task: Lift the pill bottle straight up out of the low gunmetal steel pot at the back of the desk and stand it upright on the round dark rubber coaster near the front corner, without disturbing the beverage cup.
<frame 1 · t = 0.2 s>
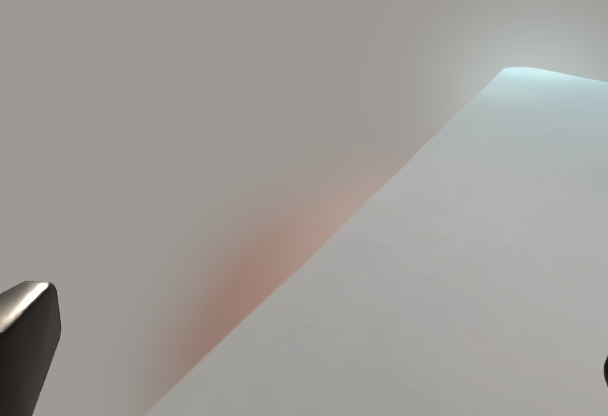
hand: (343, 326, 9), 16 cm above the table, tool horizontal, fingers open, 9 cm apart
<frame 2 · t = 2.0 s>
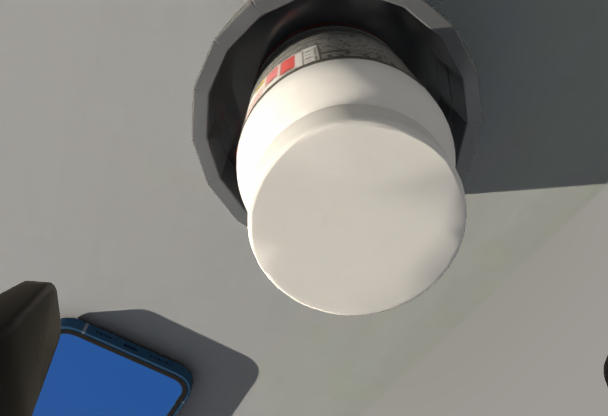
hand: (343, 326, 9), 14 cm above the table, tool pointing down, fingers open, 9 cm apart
pill bottle: (330, 98, 21), resting on pot
pot: (329, 97, 21), on the table
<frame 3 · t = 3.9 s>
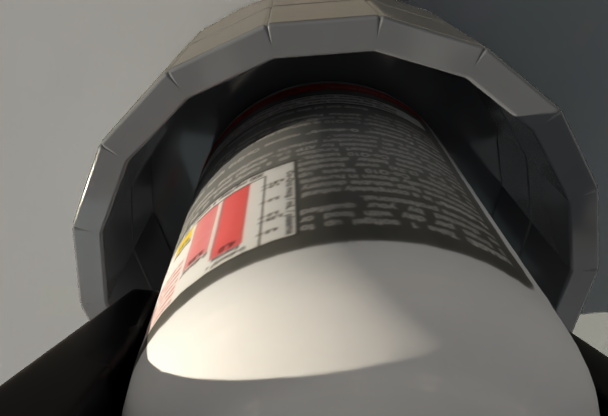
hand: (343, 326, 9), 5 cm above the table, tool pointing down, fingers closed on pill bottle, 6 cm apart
pill bottle: (325, 193, 13), resting on pot, touching gripper
pot: (325, 189, 13), on the table
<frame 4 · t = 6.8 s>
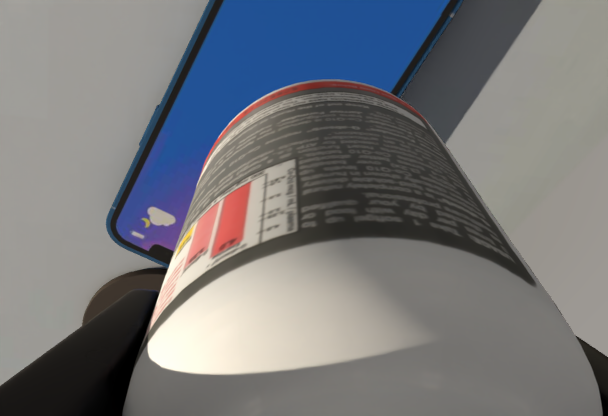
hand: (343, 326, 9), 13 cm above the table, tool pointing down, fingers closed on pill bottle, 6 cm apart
smartphone: (271, 110, 20), on the table
coaster: (163, 332, 25), on the table
pill bottle: (326, 191, 13), point 8 cm above the table, touching gripper
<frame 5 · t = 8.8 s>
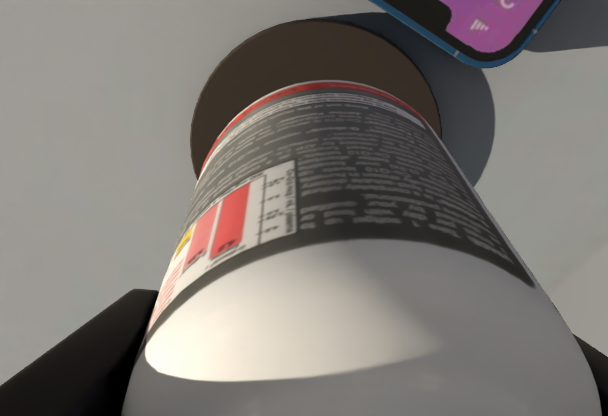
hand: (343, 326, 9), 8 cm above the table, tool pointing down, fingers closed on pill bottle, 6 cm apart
coaster: (315, 146, 16), on the table
pill bottle: (325, 192, 13), point 3 cm above the table, touching gripper
when the fingers open (5 cm above the table, at t = 10.1 s): pill bottle stays where it is, resting on coaster.
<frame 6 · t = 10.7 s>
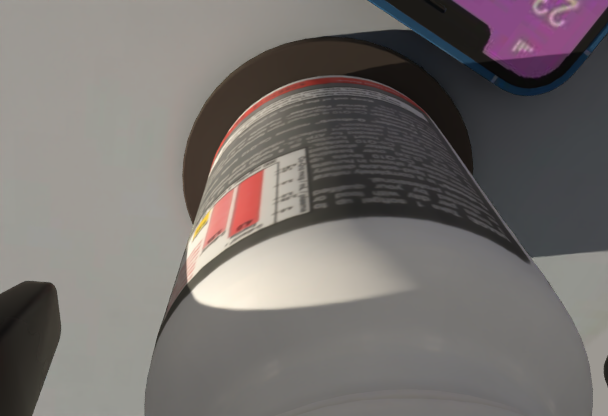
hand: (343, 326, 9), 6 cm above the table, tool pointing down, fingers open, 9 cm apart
coaster: (327, 181, 14), on the table
pill bottle: (331, 184, 13), resting on coaster
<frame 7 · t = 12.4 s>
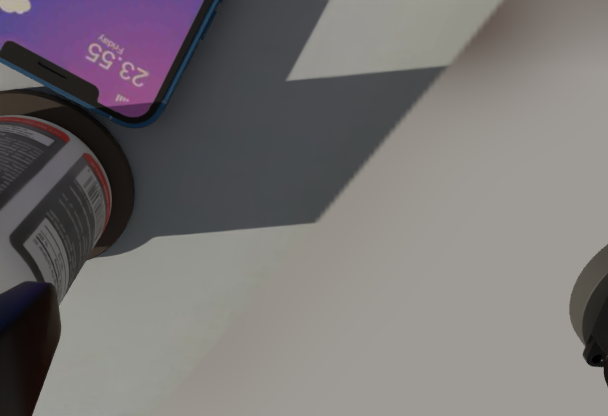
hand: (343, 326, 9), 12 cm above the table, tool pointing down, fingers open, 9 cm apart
coaster: (39, 182, 21), on the table
pill bottle: (39, 183, 20), resting on coaster
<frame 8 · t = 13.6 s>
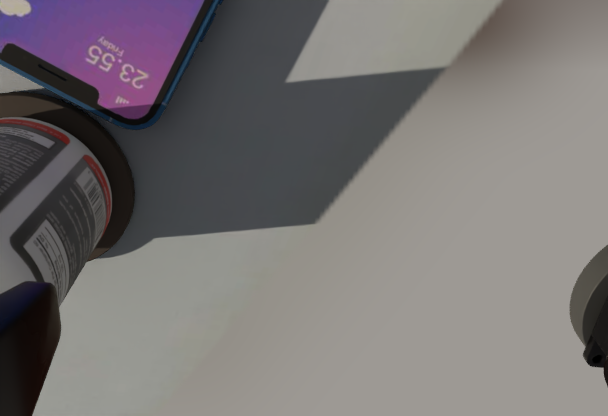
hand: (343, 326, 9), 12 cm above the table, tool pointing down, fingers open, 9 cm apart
coaster: (40, 183, 21), on the table
pill bottle: (40, 185, 20), resting on coaster
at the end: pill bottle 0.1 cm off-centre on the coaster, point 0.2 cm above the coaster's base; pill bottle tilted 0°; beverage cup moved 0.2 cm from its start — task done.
